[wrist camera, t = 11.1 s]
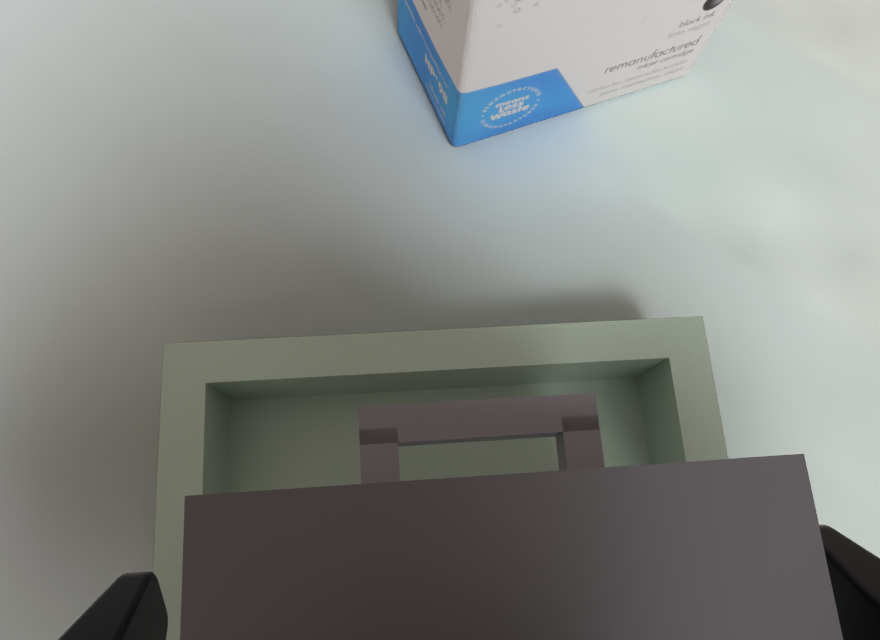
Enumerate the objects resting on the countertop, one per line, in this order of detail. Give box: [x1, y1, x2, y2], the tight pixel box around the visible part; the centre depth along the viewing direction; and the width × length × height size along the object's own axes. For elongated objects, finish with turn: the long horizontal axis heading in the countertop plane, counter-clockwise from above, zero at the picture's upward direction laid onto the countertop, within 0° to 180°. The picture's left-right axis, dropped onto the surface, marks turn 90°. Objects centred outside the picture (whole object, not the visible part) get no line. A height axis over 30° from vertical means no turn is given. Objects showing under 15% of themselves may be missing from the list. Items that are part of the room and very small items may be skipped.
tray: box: [153, 316, 728, 640], centre depth 16 cm, size 13×13×3 cm
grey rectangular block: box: [180, 393, 843, 640], centre depth 12 cm, size 6×7×11 cm
